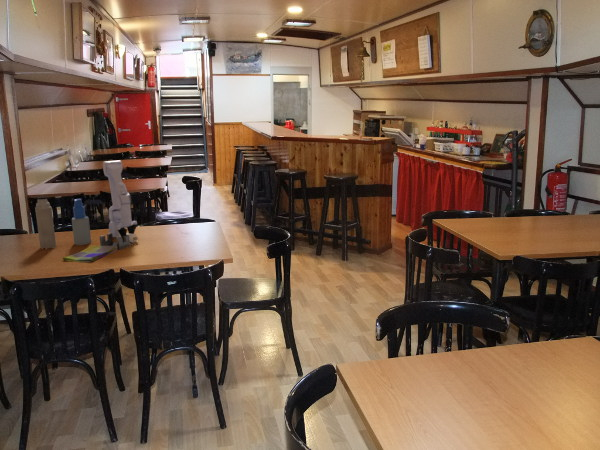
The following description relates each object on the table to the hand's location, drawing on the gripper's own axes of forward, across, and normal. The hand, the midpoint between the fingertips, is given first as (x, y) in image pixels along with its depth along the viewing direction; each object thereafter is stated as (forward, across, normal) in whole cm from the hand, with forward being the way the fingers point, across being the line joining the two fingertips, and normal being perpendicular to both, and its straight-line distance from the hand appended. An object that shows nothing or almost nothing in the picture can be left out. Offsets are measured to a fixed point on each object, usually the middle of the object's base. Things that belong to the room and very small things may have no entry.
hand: (127, 239), depth 315 cm
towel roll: (-1, 0, 0) cm, 1 cm away
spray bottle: (+2, -11, +23) cm, 26 cm away
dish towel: (+2, -28, -1) cm, 28 cm away
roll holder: (+1, -10, 0) cm, 10 cm away
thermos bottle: (+2, -25, +34) cm, 42 cm away
